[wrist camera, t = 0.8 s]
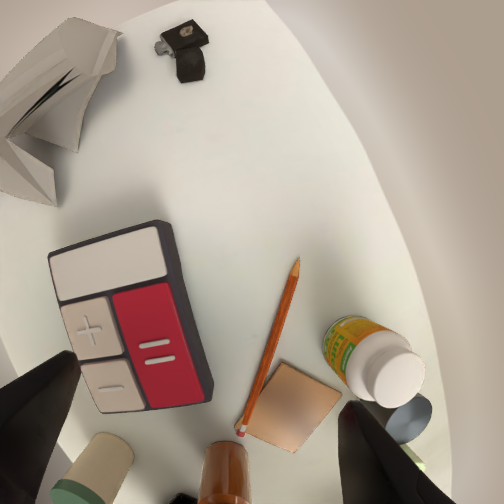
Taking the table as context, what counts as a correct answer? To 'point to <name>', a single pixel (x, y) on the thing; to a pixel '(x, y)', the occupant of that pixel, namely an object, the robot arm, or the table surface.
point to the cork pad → (289, 408)
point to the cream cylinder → (95, 472)
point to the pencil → (271, 346)
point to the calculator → (131, 320)
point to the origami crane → (50, 101)
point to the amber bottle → (225, 475)
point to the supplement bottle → (373, 361)
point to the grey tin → (403, 417)
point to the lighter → (185, 50)
